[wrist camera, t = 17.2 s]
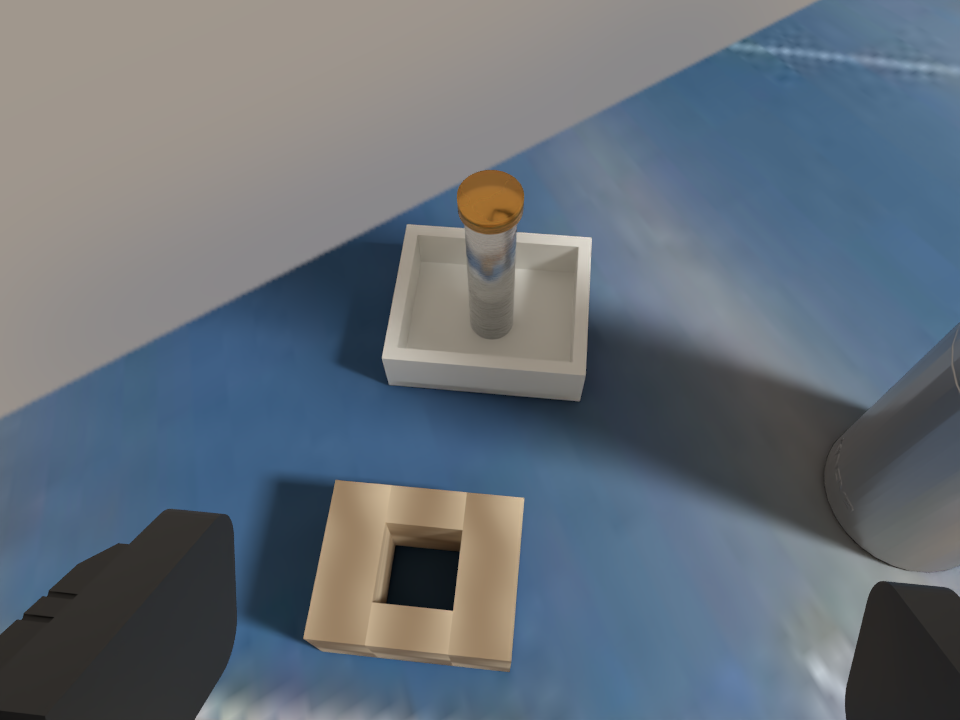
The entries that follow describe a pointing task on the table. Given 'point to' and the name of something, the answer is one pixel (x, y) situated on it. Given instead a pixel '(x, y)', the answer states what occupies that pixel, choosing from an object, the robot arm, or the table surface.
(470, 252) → the lock pin
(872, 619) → the robot arm
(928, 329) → the table surface
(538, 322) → the tray
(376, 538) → the block
